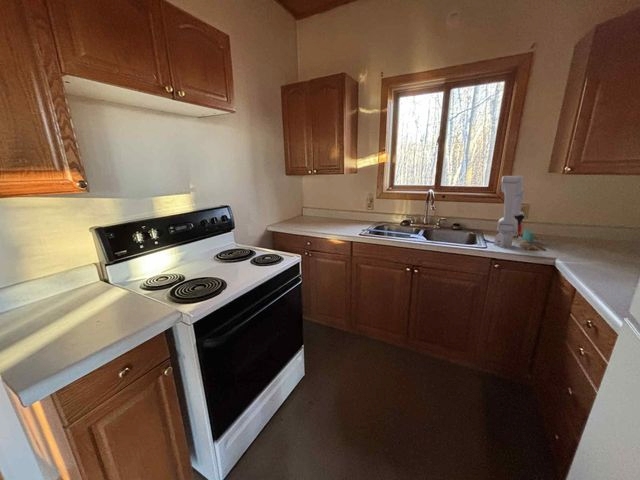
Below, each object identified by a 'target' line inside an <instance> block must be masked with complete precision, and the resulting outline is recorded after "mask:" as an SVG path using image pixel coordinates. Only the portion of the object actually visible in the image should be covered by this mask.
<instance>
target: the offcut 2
mask: <svg viewBox="0 0 640 480" xmlns="http://www.w3.org/2000/svg"><path fill="white" fill-rule="evenodd" d="M530 246H531V245H530V244H528V243H523V248H524V249H525V251H531V250H530ZM523 248H522V249H523ZM524 249H523V250H524Z"/></svg>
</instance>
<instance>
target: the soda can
mask: <svg viewBox="0 0 640 480" xmlns="http://www.w3.org/2000/svg"><path fill="white" fill-rule="evenodd" d="M523 226H524V222H523V220H522V221H521V223H520V225H519V227H518V228H517V232H516V233H514V234H513V238H518V236H520V237H522V234H523V233H522V231H523Z"/></svg>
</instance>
